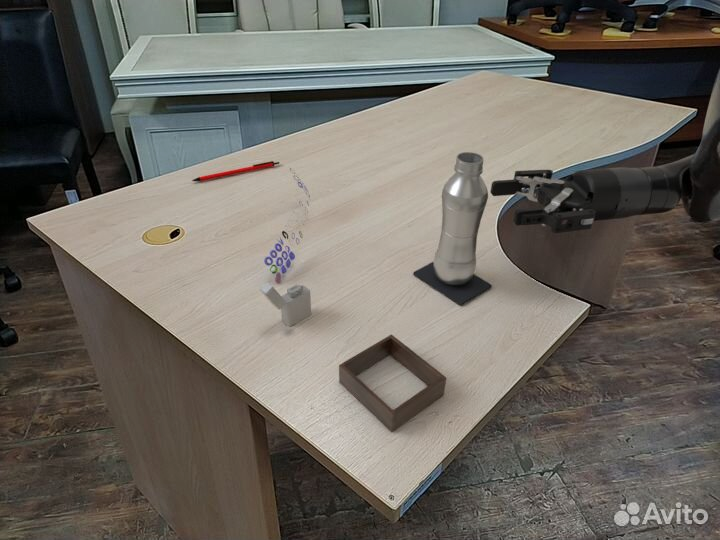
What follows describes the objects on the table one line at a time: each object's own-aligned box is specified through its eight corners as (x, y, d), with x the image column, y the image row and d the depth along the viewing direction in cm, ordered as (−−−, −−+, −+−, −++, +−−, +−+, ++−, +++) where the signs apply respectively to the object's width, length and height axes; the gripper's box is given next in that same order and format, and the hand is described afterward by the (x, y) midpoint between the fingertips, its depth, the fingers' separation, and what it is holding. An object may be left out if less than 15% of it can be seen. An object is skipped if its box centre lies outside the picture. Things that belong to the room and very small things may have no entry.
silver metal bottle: (472, 266, 84) (492, 148, 72) (475, 293, 79) (497, 170, 67) (431, 263, 85) (444, 146, 73) (432, 289, 79) (446, 167, 68)
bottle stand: (444, 394, 64) (446, 377, 62) (391, 432, 59) (392, 415, 57) (390, 350, 70) (391, 334, 68) (339, 382, 65) (338, 365, 63)
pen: (280, 165, 115) (279, 160, 114) (192, 183, 108) (191, 178, 107) (278, 163, 116) (278, 159, 115) (191, 181, 108) (190, 176, 108)
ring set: (318, 298, 82) (288, 244, 74) (253, 302, 86) (219, 251, 78) (351, 195, 98) (329, 143, 90) (296, 203, 102) (270, 153, 95)
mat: (491, 287, 81) (492, 284, 80) (461, 306, 77) (461, 303, 77) (443, 258, 87) (443, 255, 87) (413, 274, 83) (413, 271, 83)
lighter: (304, 308, 76) (301, 263, 72) (312, 314, 75) (309, 268, 71) (263, 330, 73) (257, 284, 68) (271, 337, 72) (265, 290, 67)
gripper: (588, 150, 81) (488, 157, 79) (644, 194, 70) (529, 203, 67) (576, 194, 85) (481, 201, 83) (627, 241, 74) (518, 252, 72)
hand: (503, 202), depth 75 cm, fingers open, 8 cm apart
